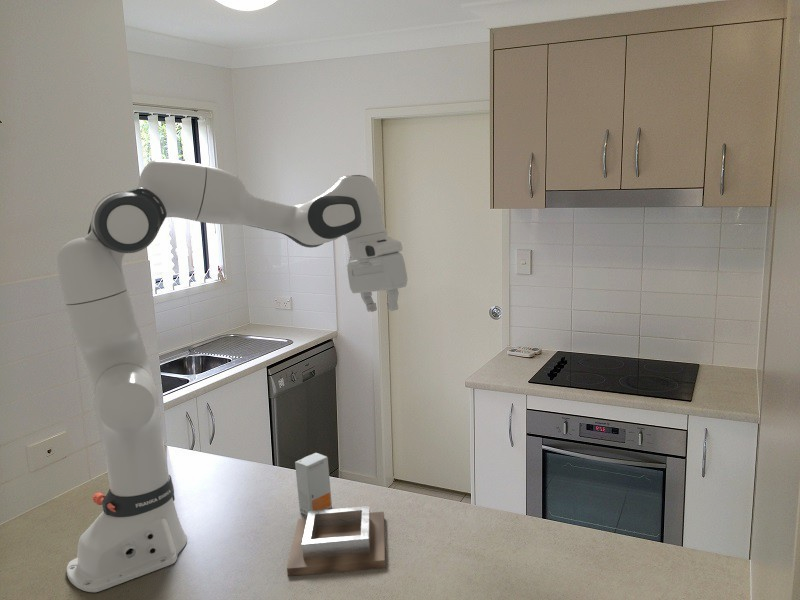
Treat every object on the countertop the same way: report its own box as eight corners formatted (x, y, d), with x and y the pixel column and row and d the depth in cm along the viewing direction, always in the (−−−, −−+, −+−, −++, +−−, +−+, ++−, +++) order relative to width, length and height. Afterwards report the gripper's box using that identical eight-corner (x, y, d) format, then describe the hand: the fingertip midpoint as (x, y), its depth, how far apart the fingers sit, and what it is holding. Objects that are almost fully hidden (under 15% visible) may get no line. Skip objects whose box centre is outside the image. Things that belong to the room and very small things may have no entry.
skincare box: (311, 518, 144) (306, 466, 142) (299, 512, 147) (293, 461, 145) (333, 507, 149) (328, 456, 146) (321, 501, 152) (315, 451, 149)
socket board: (287, 575, 124) (285, 553, 124) (298, 525, 142) (296, 505, 141) (385, 567, 125) (383, 545, 124) (384, 518, 142) (382, 498, 141)
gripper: (336, 256, 155) (349, 315, 156) (379, 246, 137) (393, 313, 138) (360, 251, 158) (372, 309, 159) (405, 241, 140) (419, 306, 141)
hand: (382, 310), depth 148 cm, fingers open, 8 cm apart
